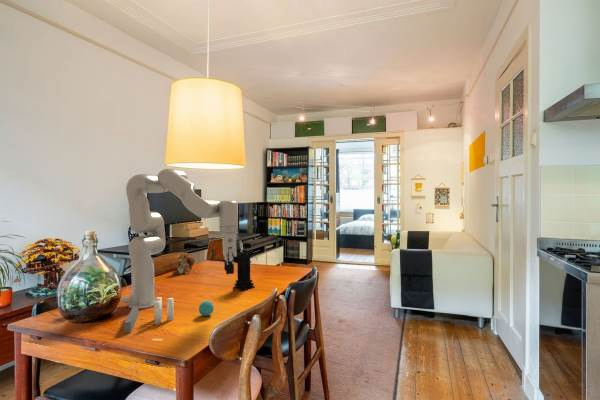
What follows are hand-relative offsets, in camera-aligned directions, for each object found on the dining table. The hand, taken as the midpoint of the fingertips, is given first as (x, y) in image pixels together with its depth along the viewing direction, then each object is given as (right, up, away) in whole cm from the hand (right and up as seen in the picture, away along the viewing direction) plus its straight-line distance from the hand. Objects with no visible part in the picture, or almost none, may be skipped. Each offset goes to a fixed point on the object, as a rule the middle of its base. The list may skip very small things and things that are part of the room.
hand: (229, 271), depth 140 cm
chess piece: (0, -17, +38) cm, 42 cm away
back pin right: (-26, -18, -11) cm, 33 cm away
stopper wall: (-36, -18, -11) cm, 41 cm away
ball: (-9, -15, -3) cm, 17 cm away
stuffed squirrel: (-45, -17, +75) cm, 89 cm away
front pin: (-22, -18, -7) cm, 29 cm away
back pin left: (-27, -18, -6) cm, 33 cm away
